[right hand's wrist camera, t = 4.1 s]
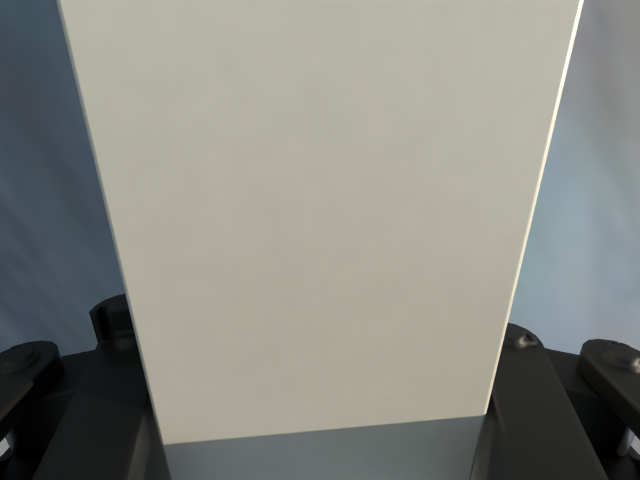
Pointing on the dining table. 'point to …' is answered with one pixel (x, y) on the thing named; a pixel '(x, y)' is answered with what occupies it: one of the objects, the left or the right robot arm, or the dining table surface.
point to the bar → (319, 218)
